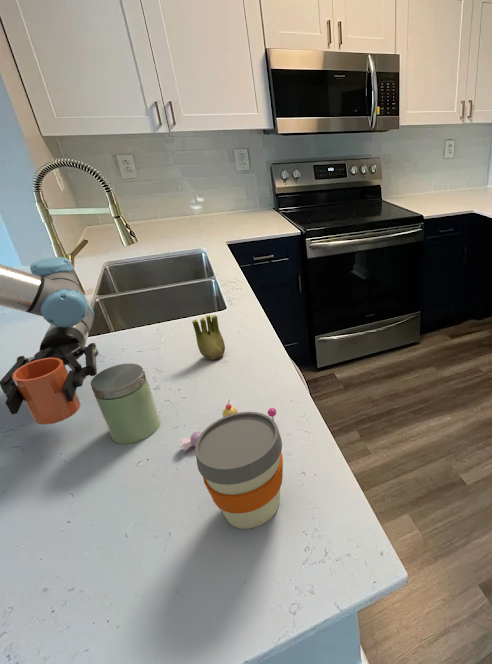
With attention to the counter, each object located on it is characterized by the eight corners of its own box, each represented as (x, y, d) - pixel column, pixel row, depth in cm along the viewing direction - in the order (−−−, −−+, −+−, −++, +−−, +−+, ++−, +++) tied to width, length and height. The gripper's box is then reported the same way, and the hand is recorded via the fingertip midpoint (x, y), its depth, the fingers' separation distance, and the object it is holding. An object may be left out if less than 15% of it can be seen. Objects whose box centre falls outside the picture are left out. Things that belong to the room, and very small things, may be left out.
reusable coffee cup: (245, 466, 78) (231, 403, 70) (304, 487, 73) (295, 421, 66) (196, 524, 67) (173, 456, 60) (261, 551, 63) (245, 481, 56)
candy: (187, 462, 78) (180, 438, 76) (180, 437, 84) (173, 413, 82) (279, 426, 87) (276, 403, 84) (266, 405, 93) (263, 383, 90)
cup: (26, 415, 80) (4, 372, 75) (69, 394, 85) (51, 353, 81) (45, 430, 76) (23, 385, 72) (88, 407, 82) (70, 364, 77)
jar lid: (83, 393, 79) (79, 384, 78) (123, 367, 87) (120, 359, 86) (117, 403, 77) (114, 394, 76) (155, 376, 84) (153, 368, 83)
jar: (101, 437, 84) (79, 387, 79) (138, 409, 92) (121, 362, 86) (134, 448, 82) (115, 398, 76) (170, 419, 89) (154, 371, 83)
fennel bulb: (200, 362, 108) (189, 321, 103) (206, 351, 113) (197, 312, 107) (222, 361, 108) (213, 320, 103) (228, 351, 113) (219, 311, 107)
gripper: (122, 345, 98) (112, 402, 80) (15, 366, 91) (-24, 434, 72) (113, 317, 95) (100, 370, 76) (0, 336, 87) (-45, 400, 69)
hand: (40, 401), depth 74 cm, fingers closed on cup, 8 cm apart
